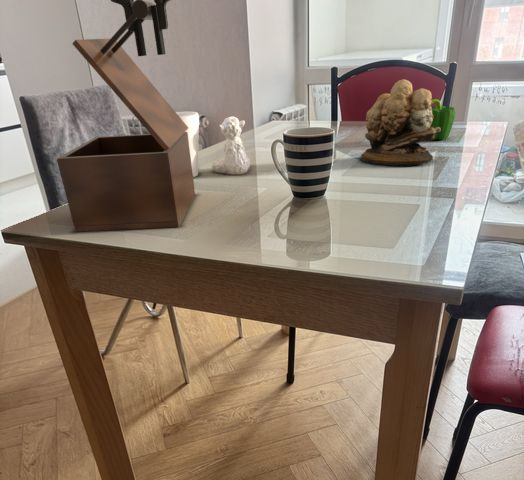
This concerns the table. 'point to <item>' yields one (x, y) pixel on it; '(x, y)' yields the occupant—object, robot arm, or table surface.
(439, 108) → the bell pepper
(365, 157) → the owl figurine
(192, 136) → the foam cup
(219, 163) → the white creature statuette
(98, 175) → the bin
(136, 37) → the robot arm
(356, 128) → the table surface
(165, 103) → the bin lid
